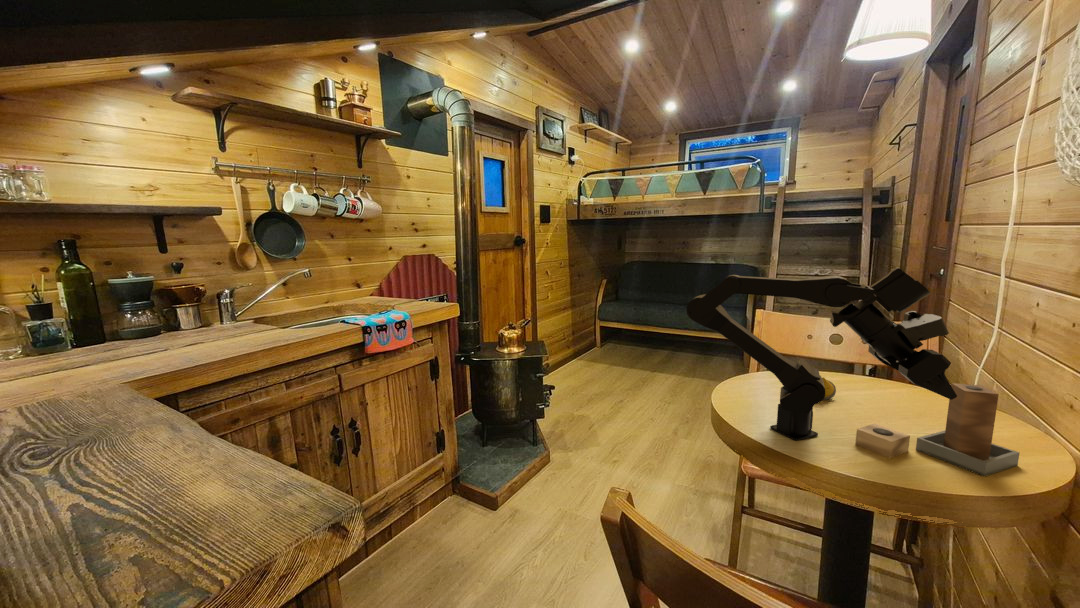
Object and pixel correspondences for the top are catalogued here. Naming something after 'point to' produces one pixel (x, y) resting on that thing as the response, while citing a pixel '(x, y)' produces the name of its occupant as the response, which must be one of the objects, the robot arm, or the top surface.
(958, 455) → the tray
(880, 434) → the short block
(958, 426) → the tall block
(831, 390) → the grey yellow round piece
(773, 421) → the top surface
